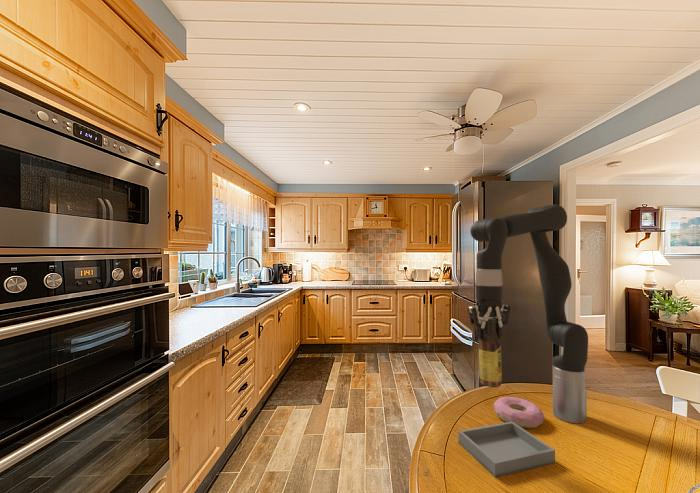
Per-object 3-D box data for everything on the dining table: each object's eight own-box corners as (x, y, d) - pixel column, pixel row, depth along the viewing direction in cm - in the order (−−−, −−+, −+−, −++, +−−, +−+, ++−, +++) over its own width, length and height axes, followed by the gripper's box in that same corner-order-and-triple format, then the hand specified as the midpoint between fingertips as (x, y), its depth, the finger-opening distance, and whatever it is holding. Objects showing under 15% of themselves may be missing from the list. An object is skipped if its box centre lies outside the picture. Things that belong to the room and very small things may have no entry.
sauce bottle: (504, 389, 90) (503, 321, 90) (481, 387, 91) (480, 320, 92) (498, 380, 96) (498, 316, 97) (477, 378, 98) (476, 315, 98)
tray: (512, 432, 99) (512, 421, 99) (555, 463, 84) (555, 450, 84) (458, 442, 93) (458, 430, 93) (494, 477, 79) (494, 463, 79)
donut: (484, 410, 113) (484, 396, 113) (519, 405, 117) (519, 392, 117) (517, 434, 98) (517, 418, 98) (555, 428, 102) (555, 413, 102)
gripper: (499, 282, 100) (500, 334, 99) (461, 283, 96) (461, 337, 96) (517, 284, 93) (518, 341, 92) (476, 285, 89) (477, 344, 88)
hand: (489, 339), depth 94 cm, fingers closed on sauce bottle, 5 cm apart
